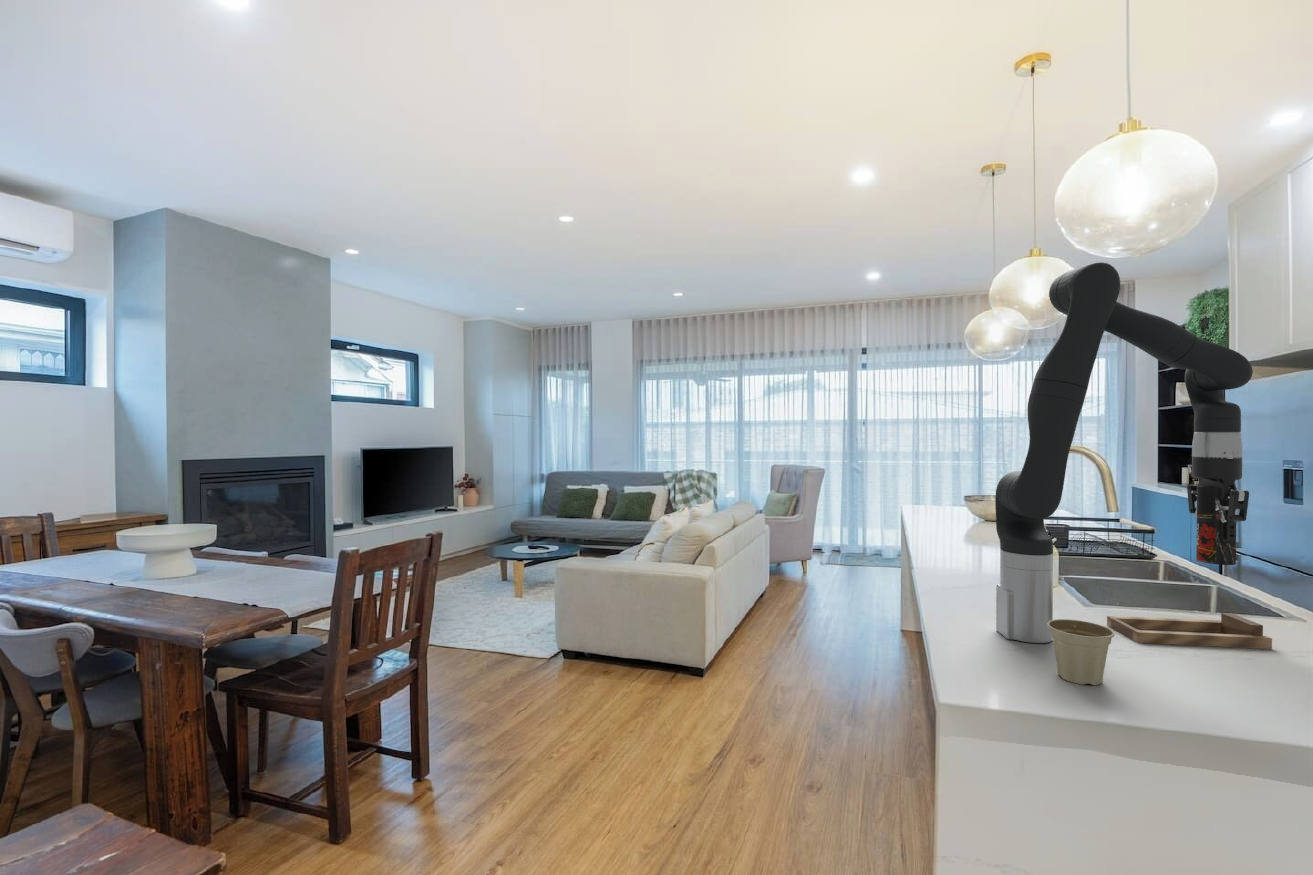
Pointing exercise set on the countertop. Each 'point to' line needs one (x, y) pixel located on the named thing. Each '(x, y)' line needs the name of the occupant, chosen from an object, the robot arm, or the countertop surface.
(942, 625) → the countertop surface
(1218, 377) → the robot arm
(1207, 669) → the countertop surface
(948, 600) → the countertop surface
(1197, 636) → the wooden frame
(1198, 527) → the deodorant
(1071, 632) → the flower pot
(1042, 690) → the countertop surface
